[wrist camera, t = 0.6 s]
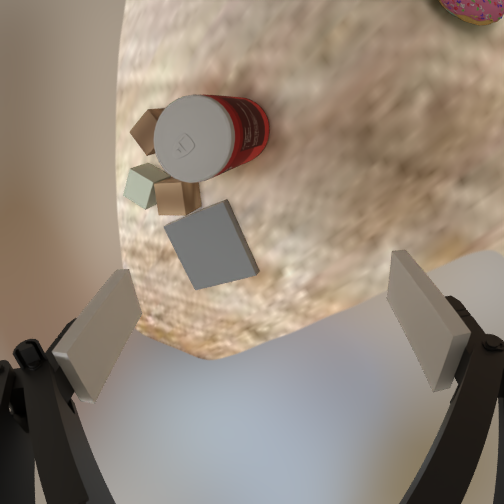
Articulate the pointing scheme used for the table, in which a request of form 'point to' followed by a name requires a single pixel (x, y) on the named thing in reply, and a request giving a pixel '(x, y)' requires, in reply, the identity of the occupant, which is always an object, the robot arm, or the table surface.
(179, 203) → the teak block
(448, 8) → the cupcake
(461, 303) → the robot arm
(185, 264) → the plate
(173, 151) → the canned food
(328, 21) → the table surface
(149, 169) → the sage painted block
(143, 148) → the walnut block
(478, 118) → the table surface
